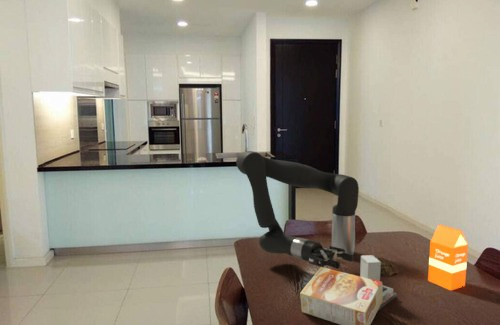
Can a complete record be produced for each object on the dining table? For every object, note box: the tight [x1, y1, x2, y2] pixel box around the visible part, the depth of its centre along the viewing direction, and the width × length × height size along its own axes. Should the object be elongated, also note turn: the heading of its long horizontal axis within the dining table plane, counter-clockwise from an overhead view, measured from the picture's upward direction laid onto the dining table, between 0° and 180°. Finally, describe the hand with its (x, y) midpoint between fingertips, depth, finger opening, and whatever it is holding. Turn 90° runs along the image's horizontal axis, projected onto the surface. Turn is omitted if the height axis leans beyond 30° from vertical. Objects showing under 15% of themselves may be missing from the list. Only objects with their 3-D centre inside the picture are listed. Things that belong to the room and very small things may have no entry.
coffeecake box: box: [299, 266, 383, 325], centre depth 111 cm, size 15×7×20 cm
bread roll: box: [374, 256, 399, 277], centre depth 143 cm, size 13×12×5 cm
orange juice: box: [427, 224, 469, 291], centre depth 131 cm, size 8×9×20 cm
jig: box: [378, 284, 397, 311], centre depth 121 cm, size 14×13×3 cm
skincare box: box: [359, 254, 381, 282], centre depth 120 cm, size 6×4×12 cm
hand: (346, 261), depth 126 cm, fingers open, 8 cm apart
